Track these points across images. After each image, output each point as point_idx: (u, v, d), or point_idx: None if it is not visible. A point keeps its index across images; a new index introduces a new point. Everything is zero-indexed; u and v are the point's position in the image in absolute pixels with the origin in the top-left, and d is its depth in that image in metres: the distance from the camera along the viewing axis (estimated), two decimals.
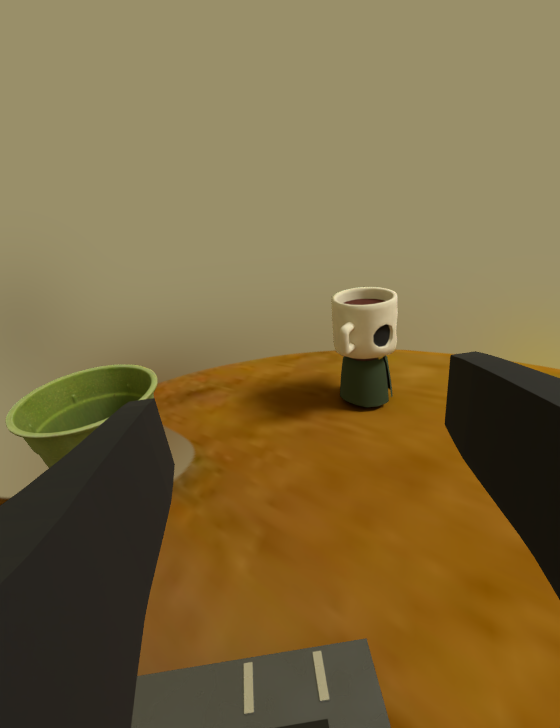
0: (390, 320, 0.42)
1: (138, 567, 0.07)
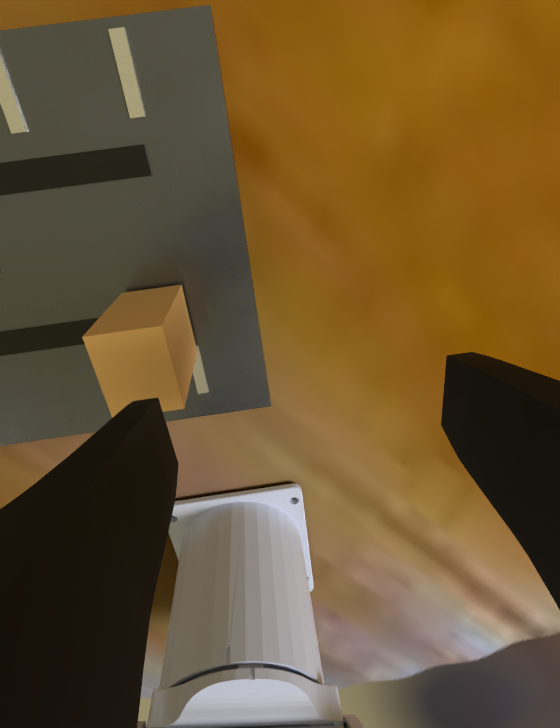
0: None
1: (143, 566, 0.07)
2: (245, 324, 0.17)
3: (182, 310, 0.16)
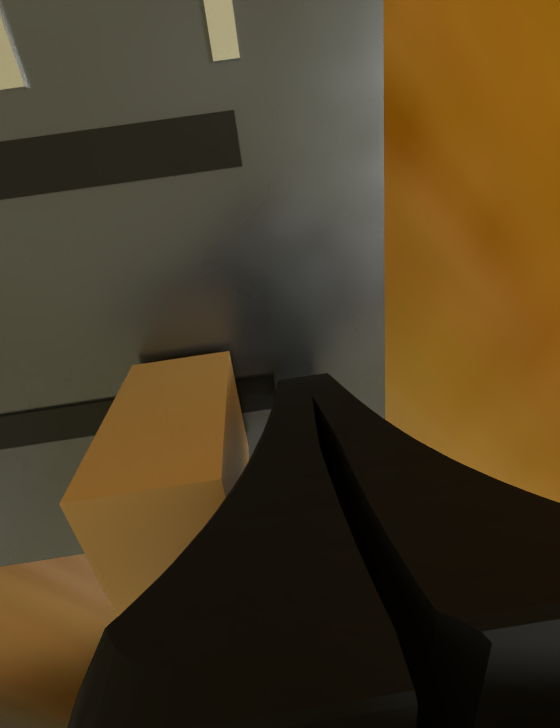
0: None
1: None
2: (364, 397, 0.11)
3: (233, 397, 0.09)
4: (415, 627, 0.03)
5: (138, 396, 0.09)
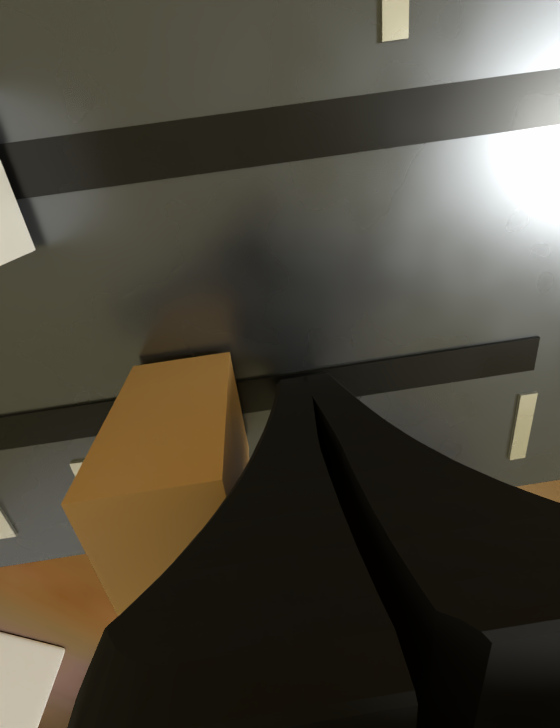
0: None
1: None
2: None
3: (234, 398, 0.09)
4: (415, 627, 0.03)
5: (139, 397, 0.09)
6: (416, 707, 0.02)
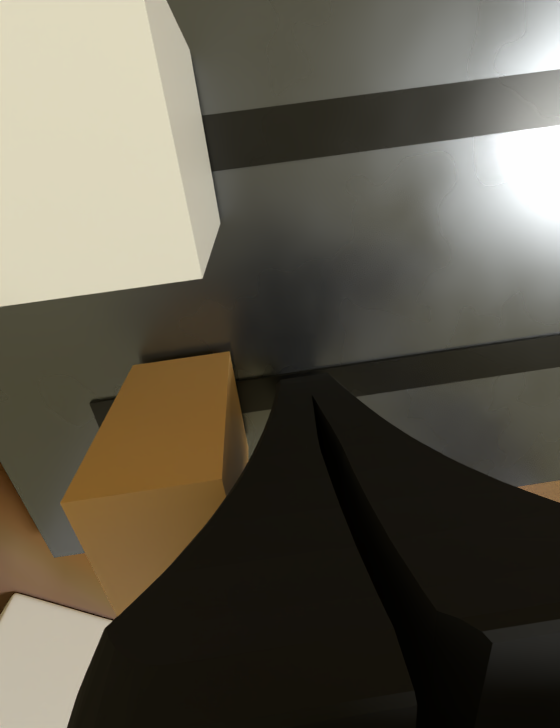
0: None
1: None
2: None
3: (234, 398, 0.09)
4: (416, 627, 0.03)
5: (139, 396, 0.09)
6: (416, 708, 0.02)
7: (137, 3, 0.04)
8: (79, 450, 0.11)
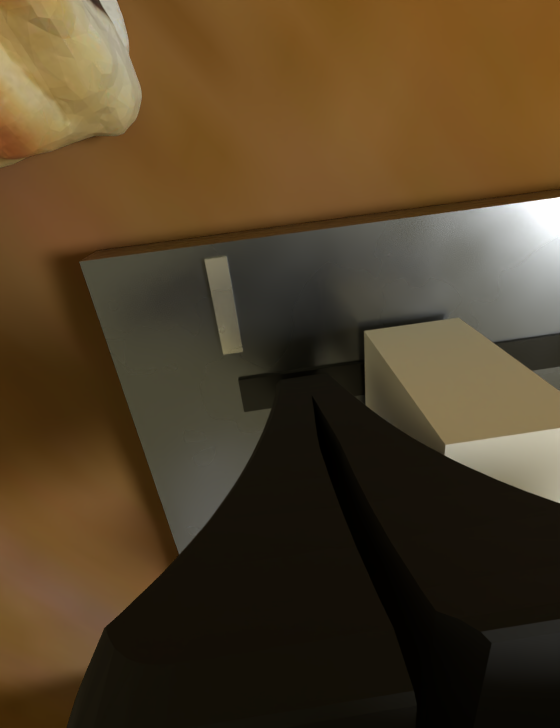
0: None
1: None
2: None
3: None
4: (415, 627, 0.03)
5: None
6: (415, 707, 0.02)
7: None
8: None
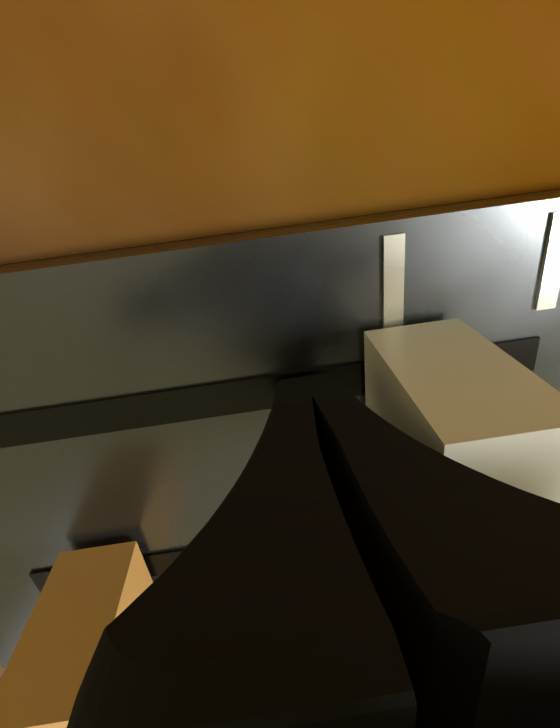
0: None
1: None
2: None
3: (135, 586, 0.12)
4: (415, 627, 0.03)
5: (54, 600, 0.11)
6: (415, 707, 0.02)
7: None
8: (24, 603, 0.14)
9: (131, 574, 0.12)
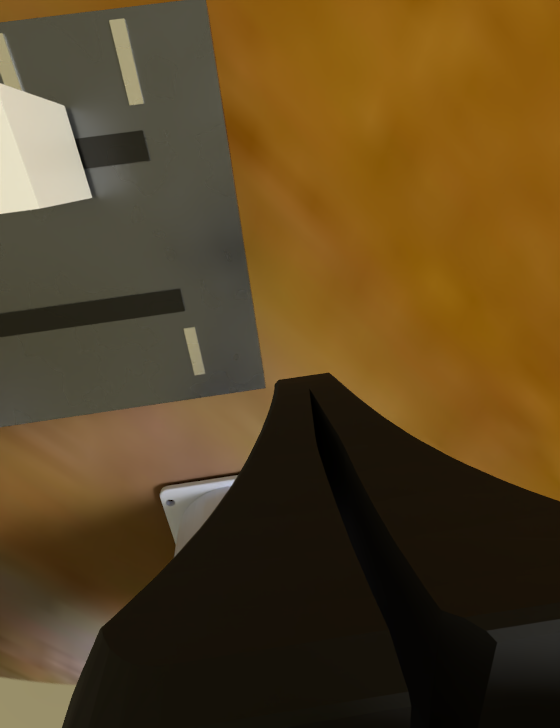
0: None
1: None
2: (240, 306, 0.18)
3: None
4: (419, 626, 0.03)
5: None
6: (409, 708, 0.02)
7: (0, 107, 0.10)
8: None
9: None
